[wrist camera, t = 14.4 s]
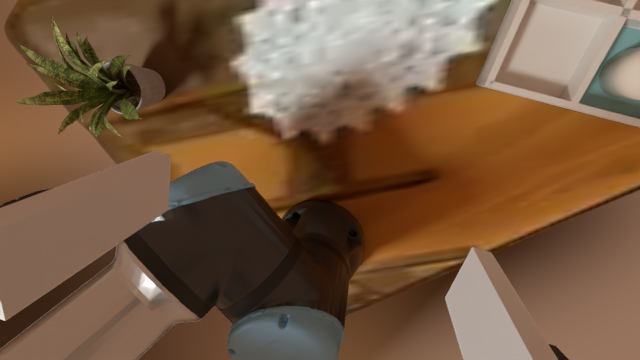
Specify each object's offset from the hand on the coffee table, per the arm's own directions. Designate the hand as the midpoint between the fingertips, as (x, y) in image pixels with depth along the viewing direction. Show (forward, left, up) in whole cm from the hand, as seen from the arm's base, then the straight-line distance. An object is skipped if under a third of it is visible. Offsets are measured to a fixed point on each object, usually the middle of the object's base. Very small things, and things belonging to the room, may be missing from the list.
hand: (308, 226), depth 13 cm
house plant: (-4, +31, -33) cm, 45 cm away
